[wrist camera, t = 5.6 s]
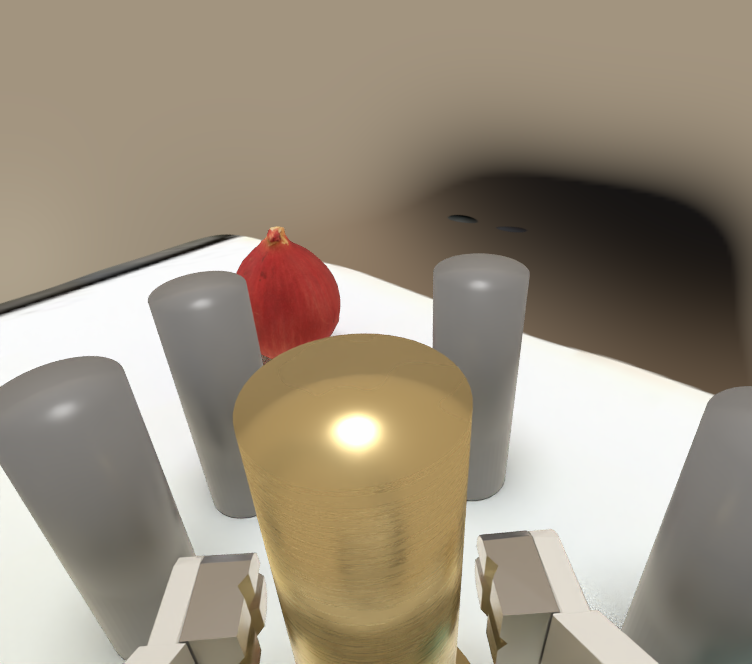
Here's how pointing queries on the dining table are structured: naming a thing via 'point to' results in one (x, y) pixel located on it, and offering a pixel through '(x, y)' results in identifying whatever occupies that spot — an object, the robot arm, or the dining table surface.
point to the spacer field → (231, 489)
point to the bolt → (361, 495)
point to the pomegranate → (289, 294)
